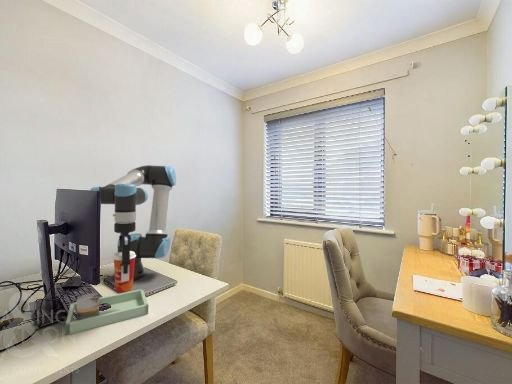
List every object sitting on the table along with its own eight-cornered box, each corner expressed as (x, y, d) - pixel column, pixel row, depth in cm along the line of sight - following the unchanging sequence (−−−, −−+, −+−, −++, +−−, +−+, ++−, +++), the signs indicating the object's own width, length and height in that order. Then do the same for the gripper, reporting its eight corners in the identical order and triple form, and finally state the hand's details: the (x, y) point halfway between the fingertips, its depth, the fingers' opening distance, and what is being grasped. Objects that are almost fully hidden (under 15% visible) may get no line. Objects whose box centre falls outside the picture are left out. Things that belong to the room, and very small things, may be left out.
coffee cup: (110, 288, 95) (110, 252, 94) (131, 283, 101) (132, 249, 100) (115, 296, 89) (116, 258, 88) (138, 290, 95) (139, 254, 94)
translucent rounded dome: (77, 315, 90) (77, 295, 89) (99, 310, 94) (99, 291, 93) (75, 325, 84) (75, 304, 83) (99, 320, 88) (99, 299, 87)
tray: (70, 314, 92) (70, 303, 92) (142, 298, 106) (142, 288, 106) (65, 338, 79) (65, 325, 79) (148, 316, 93) (148, 305, 93)
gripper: (113, 218, 100) (112, 269, 101) (115, 227, 83) (114, 289, 84) (132, 217, 104) (132, 266, 105) (138, 225, 87) (137, 285, 88)
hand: (124, 276), depth 95 cm, fingers closed on coffee cup, 8 cm apart
